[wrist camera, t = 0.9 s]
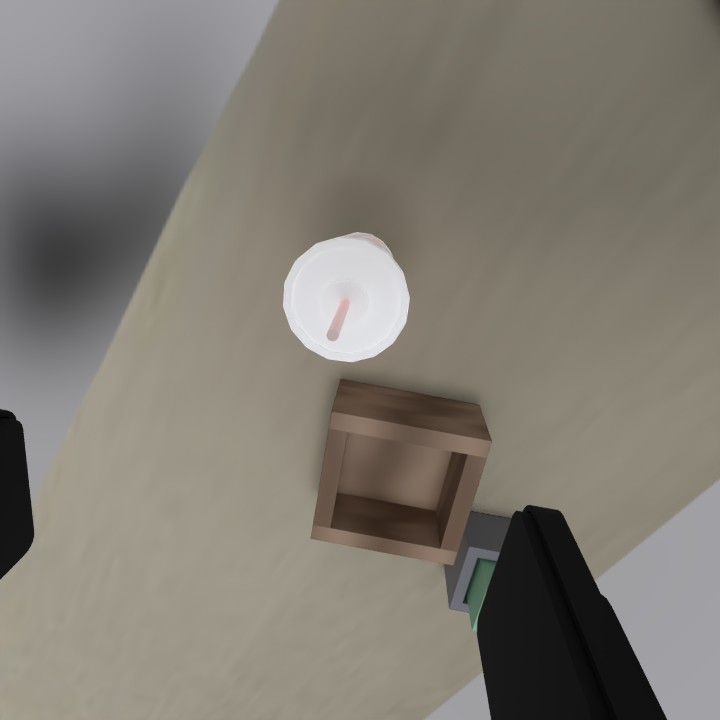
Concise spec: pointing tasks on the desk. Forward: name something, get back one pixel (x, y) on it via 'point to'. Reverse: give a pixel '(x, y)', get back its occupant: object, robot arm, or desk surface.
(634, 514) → the desk surface
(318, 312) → the beverage cup
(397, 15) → the desk surface
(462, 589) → the button housing
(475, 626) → the button
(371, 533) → the open wooden cube shelf
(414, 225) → the desk surface
